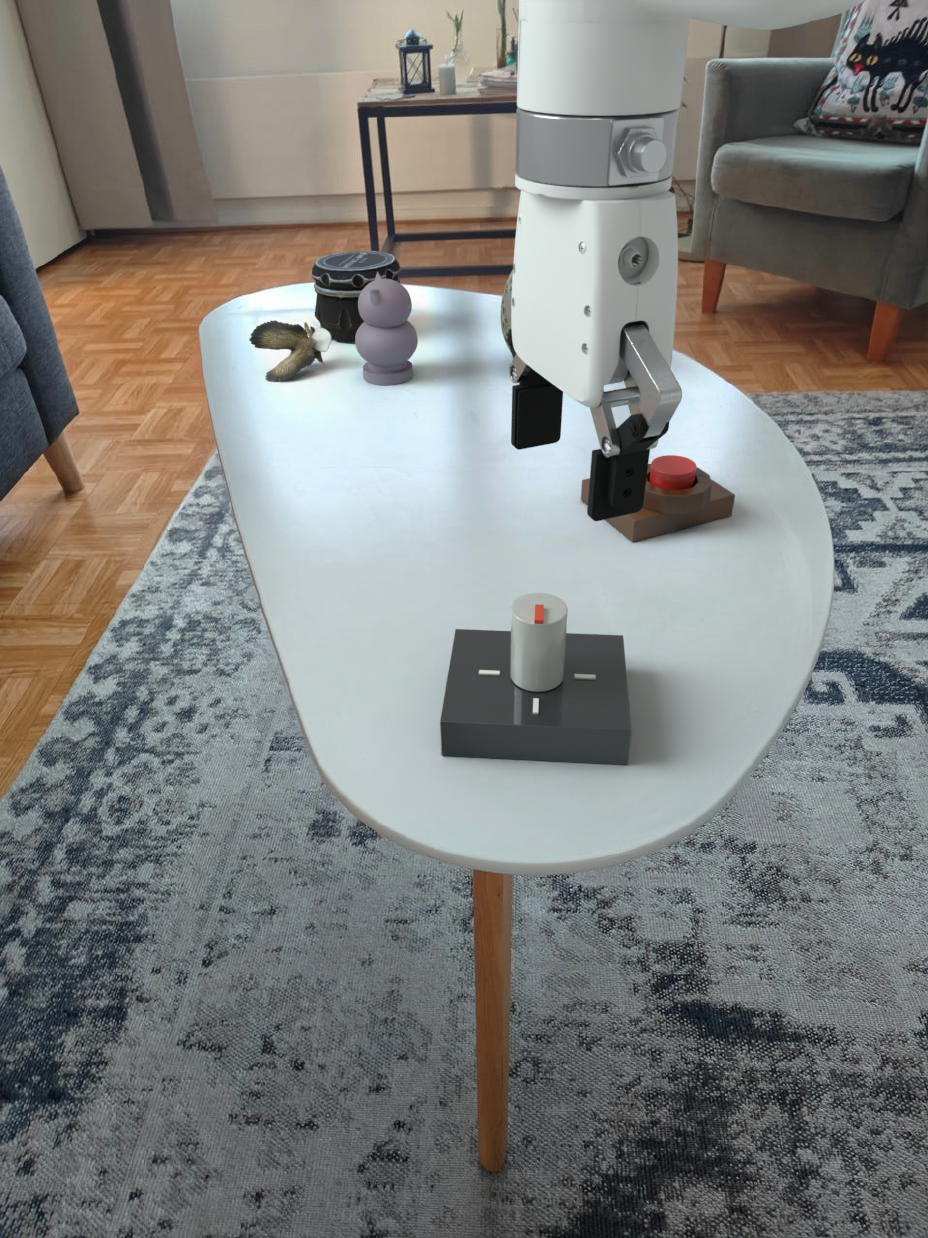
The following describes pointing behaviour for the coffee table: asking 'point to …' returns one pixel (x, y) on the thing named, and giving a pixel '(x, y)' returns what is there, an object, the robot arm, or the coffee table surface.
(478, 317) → the coffee table surface
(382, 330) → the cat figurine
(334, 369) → the coffee table surface
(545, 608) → the hob knob
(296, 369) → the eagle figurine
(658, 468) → the power button
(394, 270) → the container
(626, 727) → the hob panel
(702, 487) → the power block
